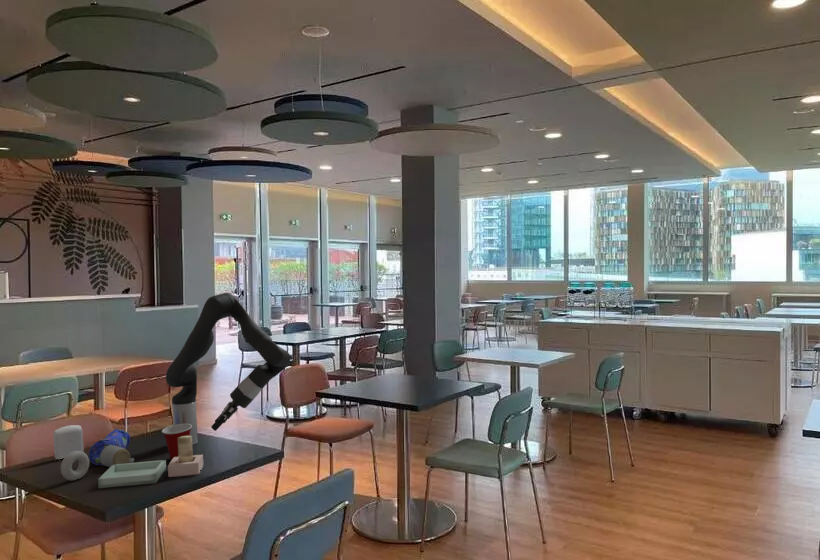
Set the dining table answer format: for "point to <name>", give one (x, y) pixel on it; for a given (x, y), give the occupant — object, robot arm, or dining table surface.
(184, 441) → the dowel
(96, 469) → the dining table surface
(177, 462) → the socket block
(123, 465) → the tray
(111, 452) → the ceramic mug
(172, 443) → the plastic cup
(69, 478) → the donut
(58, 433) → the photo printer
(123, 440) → the pencil case
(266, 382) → the robot arm
